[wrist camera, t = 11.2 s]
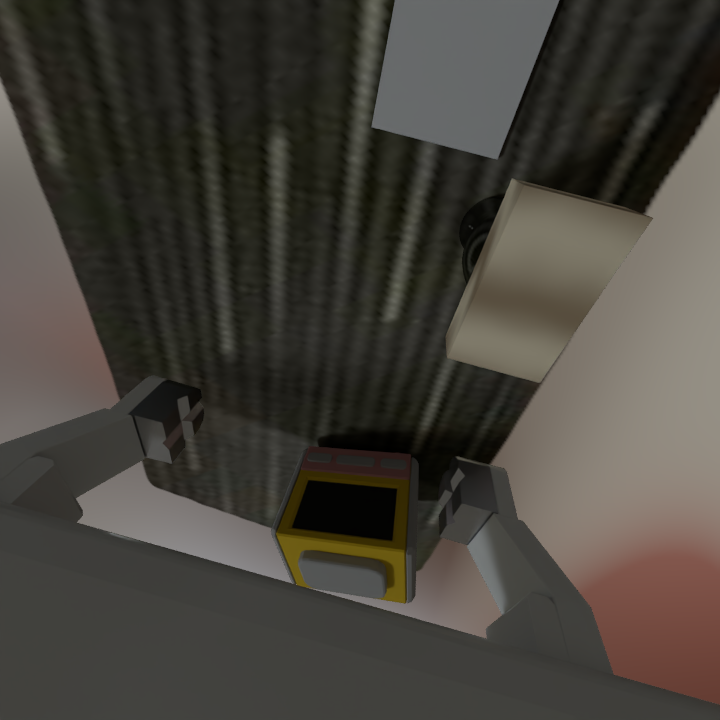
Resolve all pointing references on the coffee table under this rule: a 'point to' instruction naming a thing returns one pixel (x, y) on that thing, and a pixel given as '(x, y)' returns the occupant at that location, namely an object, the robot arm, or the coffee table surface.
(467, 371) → the coffee table surface
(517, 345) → the birch lid
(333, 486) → the alarm clock
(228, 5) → the coffee table surface
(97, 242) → the coffee table surface
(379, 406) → the coffee table surface
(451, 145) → the grey mat
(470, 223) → the beer glass
